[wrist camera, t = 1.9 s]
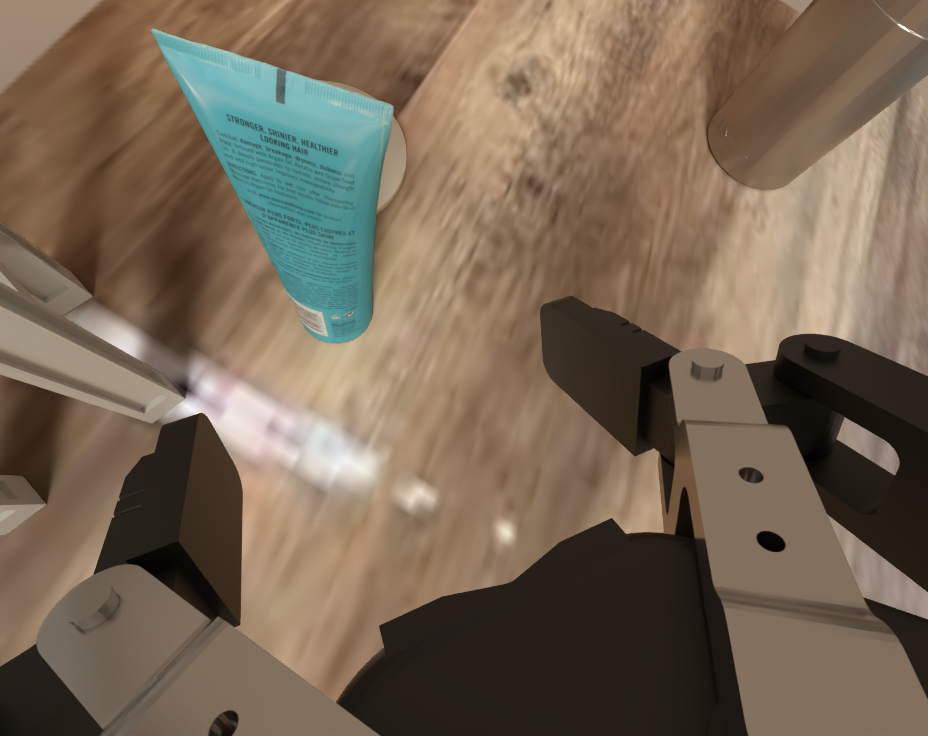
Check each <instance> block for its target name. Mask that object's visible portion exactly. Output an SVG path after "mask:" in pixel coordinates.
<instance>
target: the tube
mask: <svg viewBox="0 0 928 736" xmlns="http://www.w3.org/2000/svg"><path fill="white" fill-rule="evenodd" d="M151 31H152V33H153V35H154V37H155V39H156V41H157V43H158V45H159V47H160V49H161V52H162V54H163V56H164V58H165V59H166V61H167V63H168V65H169V67H170V69H171V71H172V72H173V74H174V76H175V78H176V80H177V81H178V83H179V85H180V87H181V89H182V91H183V93H184V94H185V96H186V98H187V100H188V102H189V104H190V106H191V107H192V109H193V111H194V113H195V115H196V117H197V119H198V121H199V123H200V125H201V126H202V128H203V130H204V132H205V134H206V136H207V138H208V140H209V142H210V143H211V145H212V147H213V149H214V151H215V153H216V155H217V157H218V159H219V161H220V162H221V164H222V166H223V168H224V170H225V172H226V174H227V176H228V178H229V180H230V182H231V184H232V186H233V187H234V189H235V191H236V193H237V195H238V197H239V199H240V201H241V203H242V205H243V207H244V209H245V211H246V212H247V214H248V216H249V218H250V220H251V222H252V224H253V226H254V228H255V230H256V232H257V234H258V236H259V238H260V240H261V242H262V244H263V246H264V248H265V250H266V252H267V254H268V255H269V257H270V259H271V261H272V263H273V265H274V267H275V269H276V271H277V273H278V275H279V277H280V279H281V281H282V283H283V285H284V287H285V290H286V292H287V294H288V296H289V298H290V300H291V302H292V304H293V306H294V308H295V310H296V312H297V314H298V316H299V318H300V320H301V322H302V324H303V325H304V327H305V329H306V330H307V331H308V332H309V333H310V334H311V335H312V336H314V337H315V338H317V339H318V340H321V341H323V342H327V343H333V344H338V343H345V342H349V341H352V340H354V339H356V338H357V337H359V336H360V335H361V334H362V333H364V331H365V330H366V329H367V327H368V326H369V324H370V321H371V319H372V312H373V260H374V242H375V228H376V215H377V206H378V198H379V190H380V183H381V176H382V170H383V164H384V158H385V154H386V150H387V146H388V143H389V139H390V135H391V127H392V117H393V112H394V107H393V105H391V104H389V103H386V102H383V101H379V100H376V99H373V98H370V97H367V96H364V95H361V94H359V93H355V92H352V91H349V90H346V89H344V88H341V87H338V86H334V85H330V84H327V83H325V82H322V81H320V80H316V79H312V78H309V77H306V76H302V75H300V74H297V73H293V72H290V71H286V70H283V69H281V68H279V67H275V66H272V65H269V64H267V63H263V62H260V61H257V60H254V59H252V58H247V57H244V56H241V55H239V54H236V53H233V52H230V51H226V50H222V49H219V48H216V47H213V46H209V45H206V44H201V43H196V42H192V41H189V40H187V39H184V38H181V37H178V36H175V35H171V34H168V33H165V32H162V31H160V30H157V29H152V30H151Z"/></svg>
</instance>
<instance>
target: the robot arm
mask: <svg viewBox="0 0 928 736" xmlns="http://www.w3.org/2000/svg"><path fill="white" fill-rule="evenodd" d="M927 75H928V0H813V1H812V2H811V4H810V5H809V6H808V7H807V8H806V9H805V11H804V12H803V13H802V14H801V15H800V16H799V18H798V19H797V20H796V21H795V22H794V23H793V24H792V26H791V27H790V28H789V29H788V30H787V31H786V33H785V34H784V35H783V36H782V37H781V38H780V40H779V41H778V42H777V43H776V44H775V45H774V46H773V48H772V49H771V50H770V51H769V52H768V53H767V55H766V56H765V57H764V58H763V59H762V60H761V62H760V63H759V64H758V65H757V66H756V67H755V69H754V70H753V71H752V72H751V73H750V74H749V75H748V77H747V78H746V79H745V80H744V81H743V82H742V83H741V85H740V86H739V87H738V88H737V89H736V90H735V92H734V93H733V94H732V95H731V96H730V97H729V99H728V100H727V101H726V102H725V103H724V104H723V105H722V107H721V108H720V109H719V110H718V111H717V112H716V114H715V115H714V116H713V118H712V120H711V121H710V124H709V128H708V141H709V145H710V148H711V151H712V153H713V155H714V157H715V159H716V160H717V162H718V163H719V164H720V166H721V167H722V168H723V169H724V170H725V171H726V172H727V173H728V174H729V175H731V176H732V177H733V178H734V179H736V180H737V181H739V182H741V183H743V184H745V185H747V186H750V187H753V188H756V189H762V190H775V189H778V188H781V187H784V186H785V185H787V184H788V183H790V182H791V181H793V180H794V179H795V178H796V177H798V176H799V175H800V174H802V173H803V172H804V171H805V170H807V169H808V168H809V167H811V166H812V165H813V164H814V163H816V162H817V161H818V160H819V159H821V158H822V157H823V156H825V155H826V154H827V153H829V152H830V151H831V150H833V149H834V148H835V147H836V146H838V145H839V144H840V143H842V142H843V141H844V140H845V139H847V138H848V137H849V136H851V135H852V134H853V133H854V132H856V131H857V130H858V129H860V128H861V127H862V126H863V125H865V124H866V123H867V122H868V121H870V120H871V119H872V118H874V117H875V116H876V115H877V114H879V113H880V112H881V111H883V110H884V109H885V108H886V107H888V106H889V105H890V104H892V103H893V102H894V101H895V100H897V99H898V98H899V97H900V96H902V95H903V94H904V93H906V92H907V91H908V90H909V89H911V88H912V87H913V86H915V85H916V84H917V83H918V82H920V81H921V80H922V79H923V78H924V77H926V76H927ZM540 320H541V336H542V352H543V362H544V366H545V368H546V371H547V373H548V375H549V376H550V378H551V379H552V380H553V381H554V382H555V383H556V384H557V385H558V386H559V387H560V388H561V389H562V390H563V391H564V392H566V393H567V394H568V395H569V396H570V397H571V398H572V399H573V400H574V401H575V402H576V403H578V404H579V405H580V406H581V407H582V408H583V409H584V410H585V411H586V412H587V413H588V414H589V415H591V416H592V417H593V418H594V419H595V420H596V421H597V422H598V423H599V424H600V425H601V426H602V427H604V428H605V429H606V430H607V431H608V432H609V433H610V434H611V435H612V436H613V437H614V438H615V439H617V440H618V441H619V442H620V443H621V444H622V445H623V446H624V447H625V448H626V449H627V450H628V451H630V452H631V453H632V454H633V455H634V456H637V455H639V454H642V453H644V452H646V451H649V450H651V449H653V448H655V449H656V450H657V451H658V452H659V458H658V470H659V481H660V492H661V504H662V515H663V526H664V533H652V532H642V533H630V534H625V533H624V531H623V530H622V529H621V528H620V527H619V526H618V525H617V523H616V522H615V521H614V520H613V519H612V518H611V519H609V520H607V521H604V522H602V523H600V524H598V525H596V526H594V527H591V528H589V529H587V530H585V531H583V532H581V533H578V534H576V535H574V536H572V537H570V538H568V539H566V540H563V541H561V542H560V543H558V544H557V545H556V546H555V547H554V548H552V549H551V550H550V551H549V552H548V553H546V554H545V555H544V556H543V557H542V558H540V559H539V560H538V561H537V562H536V563H534V564H533V565H532V566H531V567H530V568H528V569H527V570H526V571H525V572H524V573H522V574H521V575H520V576H519V577H518V578H516V579H515V580H514V581H512V582H510V583H507V584H503V585H498V586H493V587H488V588H483V589H478V590H473V591H468V592H463V593H458V594H453V595H448V596H443V597H440V598H438V599H436V600H434V601H432V602H430V603H427V604H425V605H423V606H421V607H419V608H417V609H414V610H412V611H410V612H408V613H406V614H404V615H402V616H399V617H397V618H395V619H393V620H391V621H389V622H386V623H384V624H382V625H380V626H379V628H380V632H381V636H382V640H383V644H384V648H383V649H382V650H381V651H379V652H378V653H377V654H376V655H375V656H373V657H372V658H371V659H370V660H369V661H368V662H367V663H366V664H365V665H364V666H363V667H362V668H361V669H360V671H359V672H358V673H357V674H356V675H355V677H354V678H353V679H352V680H351V682H350V683H349V684H348V685H347V687H346V688H345V690H344V691H343V693H342V694H341V696H340V697H339V699H338V700H337V702H336V703H335V702H334V701H333V700H331V699H330V698H329V697H327V696H326V695H325V694H323V693H322V692H321V691H319V690H318V689H317V688H315V687H314V686H312V685H311V684H310V683H308V682H307V681H306V680H304V679H303V678H302V677H300V676H299V675H298V674H296V673H295V672H294V671H292V670H291V669H290V668H288V667H287V666H286V665H284V664H283V663H282V662H280V661H279V660H278V659H276V658H275V657H273V656H272V655H271V654H269V653H268V652H267V651H265V650H264V649H263V648H261V647H260V646H259V645H257V644H256V643H255V642H253V641H252V640H251V639H249V638H248V637H247V636H245V635H244V634H243V633H241V632H240V631H238V630H237V629H236V628H234V627H236V626H239V625H240V618H241V561H242V504H243V491H242V484H241V480H240V477H239V474H238V471H237V469H236V467H235V465H234V463H233V461H232V459H231V457H230V456H229V454H228V452H227V450H226V449H225V447H224V445H223V443H222V441H221V440H220V438H219V436H218V434H217V433H216V431H215V429H214V427H213V425H212V424H211V422H210V420H209V419H208V417H207V416H206V415H205V414H203V413H199V414H196V415H193V416H190V417H186V418H183V419H180V420H177V421H174V422H171V423H168V424H165V425H163V426H162V428H161V431H160V434H159V438H158V442H157V445H156V449H155V453H152V454H149V455H146V456H143V457H142V458H141V459H140V460H139V461H138V463H137V464H136V465H135V466H134V468H133V469H132V470H131V471H130V473H129V474H128V475H127V476H126V477H125V480H124V483H123V486H122V489H121V493H120V496H119V498H120V501H118V502H117V505H116V508H115V511H114V516H115V517H114V518H112V520H111V523H110V526H109V529H108V532H107V535H106V538H105V541H104V544H103V547H102V550H101V553H100V556H99V559H98V562H97V565H96V568H95V571H94V574H93V576H91V577H89V578H88V579H86V580H84V581H83V582H81V583H80V584H79V585H77V586H76V587H75V588H73V589H72V590H71V591H70V592H69V593H67V594H66V595H65V596H64V597H63V598H62V599H61V600H60V601H59V602H58V603H57V604H56V605H55V607H54V608H53V609H52V610H51V611H50V613H49V614H48V616H47V617H46V618H45V620H44V622H43V624H42V626H41V628H40V630H39V633H38V636H37V644H35V645H34V646H32V647H31V648H29V649H28V650H26V651H25V652H23V653H21V654H20V655H18V656H17V657H15V658H13V659H12V660H10V661H9V662H7V663H5V664H4V665H2V666H1V667H0V736H928V619H925V618H922V617H919V616H916V615H913V614H910V613H907V612H905V611H902V610H899V609H896V608H893V607H890V606H887V605H884V604H881V603H878V602H875V601H873V600H870V599H867V598H864V597H863V596H862V594H861V591H860V589H859V587H858V584H857V582H856V580H855V578H854V575H853V573H852V571H851V568H850V566H849V564H848V561H847V559H846V557H845V555H844V552H843V550H842V548H841V545H840V543H839V541H838V538H837V536H836V534H835V532H834V529H833V527H832V525H831V522H830V520H829V518H828V515H829V516H830V517H831V518H833V519H834V520H835V521H837V522H838V523H839V524H840V525H842V526H843V527H844V528H846V529H847V530H848V531H850V532H851V533H852V534H853V535H855V536H856V537H857V538H859V539H860V540H861V541H862V542H864V543H865V544H866V545H868V546H869V547H870V548H871V549H873V550H874V551H875V552H877V553H878V554H879V555H881V556H882V557H883V558H884V559H886V560H887V561H888V562H890V563H891V564H892V565H893V566H895V567H896V568H897V569H899V570H900V571H901V572H903V573H904V574H905V575H906V576H908V577H909V578H910V579H912V580H913V581H914V582H915V583H917V584H918V585H919V586H921V587H922V588H923V589H924V590H926V591H927V592H928V376H926V375H924V374H921V373H919V372H917V371H914V370H912V369H910V368H908V367H905V366H903V365H901V364H898V363H896V362H894V361H892V360H889V359H887V358H885V357H882V356H880V355H878V354H876V353H873V352H871V351H869V350H866V349H864V348H862V347H860V346H857V345H855V344H853V343H850V342H848V341H846V340H843V339H840V338H836V337H832V336H827V335H820V334H800V335H794V336H790V337H788V338H785V339H784V340H782V342H781V343H780V345H779V349H778V353H777V357H776V360H773V361H766V362H759V363H751V364H744V363H743V362H742V361H741V360H739V359H738V358H736V357H735V356H733V355H730V354H728V353H725V352H722V351H718V350H712V349H690V350H685V351H682V352H681V351H679V350H678V349H676V348H674V347H672V346H671V345H669V344H667V343H666V342H664V341H662V340H660V339H659V338H657V337H655V336H653V335H652V334H650V333H648V332H647V331H645V330H643V331H642V330H641V328H640V327H638V326H636V325H635V324H633V323H631V324H630V323H629V321H628V320H626V319H624V318H622V317H621V316H619V315H617V314H616V313H613V312H609V311H605V310H601V309H598V308H592V307H590V306H589V305H587V304H585V303H584V302H582V301H580V300H579V299H577V298H575V297H573V296H568V297H565V298H562V299H558V300H555V301H552V302H549V303H546V304H544V305H543V306H542V307H541V311H540ZM845 417H846V418H847V419H849V420H851V421H853V422H854V423H856V424H858V425H860V426H861V427H863V428H865V429H866V430H868V431H870V432H872V433H873V434H875V435H877V436H879V437H880V438H882V439H884V440H885V441H887V442H888V443H889V444H890V445H891V446H892V447H893V448H894V449H895V451H896V452H897V454H898V457H899V461H900V465H899V469H898V471H897V473H896V475H895V476H894V475H893V474H891V473H890V472H888V471H886V470H885V469H883V468H882V467H880V466H878V465H877V464H875V463H874V462H872V461H870V460H869V459H867V458H866V457H864V456H862V455H861V454H859V453H858V452H856V451H854V450H853V449H851V448H850V447H848V446H846V445H845V444H843V443H842V442H840V441H838V440H837V436H838V433H839V431H840V428H841V425H842V423H843V420H844V418H845ZM827 514H828V515H827Z"/></svg>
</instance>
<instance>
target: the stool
mask: <svg viewBox="0 0 928 736" xmlns="http://www.w3.org/2000/svg"><path fill="white" fill-rule="evenodd" d="M92 297H93V296H92V295H91V293H90V292H89V291H88V290H87V289H86V288H85V287H84V286H83V284H82V283H81V282H80V281H79V280H78V279H77V278H76V277H75V276H74V274H73V273H72V272H70V271H69V270H68V269H66V268H65V267H63V266H62V265H61V264H59V263H58V262H56V261H55V260H54V259H52V258H51V257H50V256H48V255H47V254H45V253H44V252H43V251H41V250H40V249H38V248H37V247H36V246H34V245H33V244H32V243H30V242H29V241H27V240H26V239H25V238H23V237H22V236H20V235H19V234H18V233H16V232H15V231H14V230H12V229H11V228H9V227H8V226H7V225H5V224H4V223H2V222H1V221H0V375H4V376H7V377H10V378H13V379H16V380H19V381H22V382H25V383H28V384H31V385H34V386H38V387H41V388H44V389H47V390H50V391H53V392H56V393H59V394H62V395H65V396H69V397H72V398H75V399H78V400H81V401H84V402H87V403H90V404H93V405H96V406H100V407H103V408H106V409H109V410H112V411H115V412H118V413H121V414H124V415H127V416H131V417H134V418H137V419H140V420H143V421H146V422H149V423H154V422H155V421H156V420H158V419H159V418H160V417H162V416H163V415H164V414H166V413H167V412H168V411H169V410H171V409H172V408H173V407H175V406H176V405H177V404H179V403H180V402H181V401H183V400H184V399H185V398H184V397H183V396H182V394H181V393H180V392H179V391H178V390H177V389H176V388H175V387H174V385H173V384H172V383H171V382H170V381H169V380H168V379H167V378H166V376H165V375H164V374H163V373H161V372H159V371H157V370H156V369H154V368H152V367H150V366H148V365H147V364H145V363H143V362H141V361H140V360H138V359H136V358H134V357H133V356H131V355H129V354H127V353H125V352H124V351H122V350H120V349H118V348H117V347H115V346H113V345H111V344H109V343H108V342H106V341H104V340H102V339H101V338H99V337H97V336H95V335H93V334H92V333H90V332H88V331H86V330H85V329H83V328H81V327H79V326H78V325H76V324H74V323H72V322H70V321H69V320H67V319H65V318H63V317H62V316H63V315H65V314H66V313H68V312H70V311H71V310H73V309H74V308H76V307H77V306H79V305H81V304H82V303H84V302H85V301H87V300H88V299H90V298H92ZM45 505H46V503H45V502H44V501H43V499H42V498H41V497H40V496H39V495H38V493H37V492H36V491H35V490H34V489H33V487H32V486H31V485H30V484H29V483H28V482H27V480H26V479H25V478H24V477H23V476H12V475H0V535H7V534H8V533H9V532H11V531H12V530H13V529H14V528H16V527H17V526H18V525H20V524H21V523H22V522H24V521H25V520H26V519H28V518H29V517H30V516H32V515H33V514H34V513H36V512H37V511H38V510H40V509H41V508H42V507H44V506H45Z"/></svg>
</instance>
